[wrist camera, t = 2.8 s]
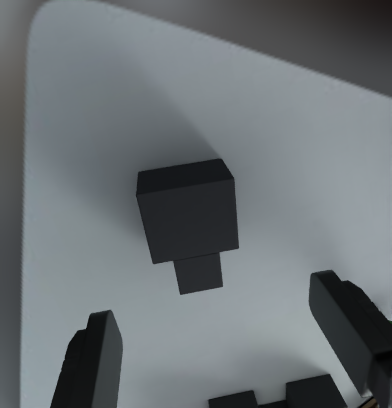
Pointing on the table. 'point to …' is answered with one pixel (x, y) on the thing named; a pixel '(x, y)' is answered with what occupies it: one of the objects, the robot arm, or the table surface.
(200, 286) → the small pad
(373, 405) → the picture frame
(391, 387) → the robot arm
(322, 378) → the base pad
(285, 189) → the table surface
